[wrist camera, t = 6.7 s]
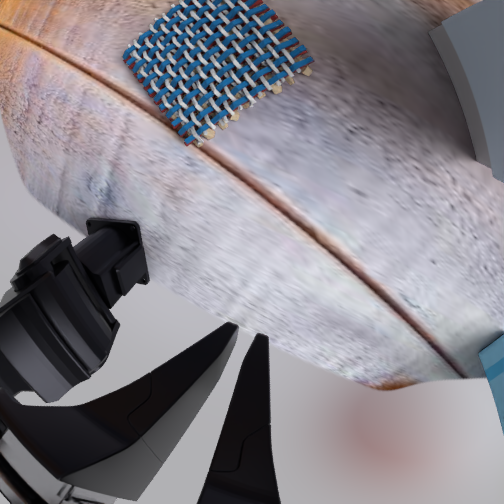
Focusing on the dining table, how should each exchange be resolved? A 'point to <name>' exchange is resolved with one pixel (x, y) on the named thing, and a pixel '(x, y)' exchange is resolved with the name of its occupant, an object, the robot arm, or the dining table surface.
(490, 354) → the blue carton
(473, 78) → the box door
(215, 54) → the woven mat
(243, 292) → the dining table surface
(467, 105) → the box
